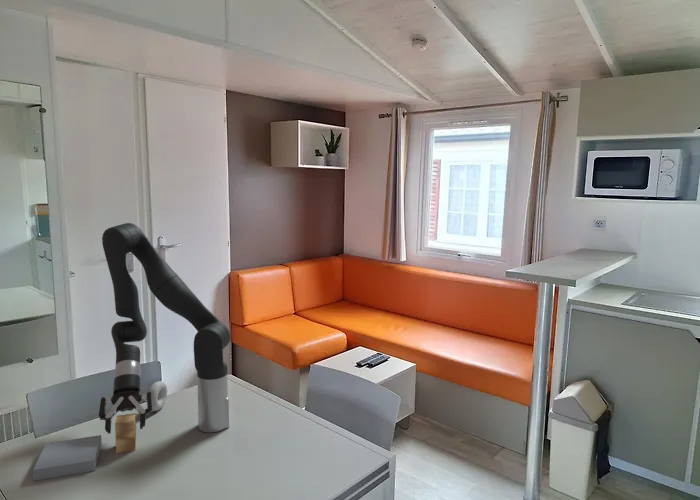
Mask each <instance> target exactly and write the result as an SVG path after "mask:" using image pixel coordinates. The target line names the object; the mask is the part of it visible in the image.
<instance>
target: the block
mask: <svg viewBox="0 0 700 500" xmlns="http://www.w3.org/2000/svg"><path fill="white" fill-rule="evenodd" d="M136 416H137V415H136V413H126V414H120V415H119V414H118V415H116V418H115V423H114V428H115V429H114V432H115V434H114V435H115V451H116V452H115V453H116V454H121V453H126V452H133V451H136V449H137V422H136V421H137V419H136V418H137V417H136Z"/></svg>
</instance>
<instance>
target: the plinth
mask: <svg viewBox="0 0 700 500" xmlns="http://www.w3.org/2000/svg"><path fill="white" fill-rule="evenodd" d="M102 440H103V439H102V434H100V435H99V434H98V435H94V436H87V437H79V438H71V439H67V440H66V439H64V440H59V441H53V442H46V443H45V445H44V447H43V449H42V450H41V452H40V454H39V457H38V459H37V461H36V463H35V466H34V467H33V469H32V475H33V482H35V481H42V480H46V479H53V478H59V477H65V476H70V475H78V474H83V473H88V472H93V471H94V472H95V471H96V468H97V464H98V460H99V457H100V453H101V449H102V448H101V447H102V445H103V444H102Z"/></svg>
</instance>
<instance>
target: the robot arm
mask: <svg viewBox="0 0 700 500" xmlns="http://www.w3.org/2000/svg"><path fill="white" fill-rule="evenodd" d="M101 242H102V247H103V253H104V255H105V260H106V263H107V268H108V271H109V274H110V277H111V281H112V287H113V295H114V304H115V305H114V307H115V314H116V315H117V316H119V317H121V318H126V319H131V320H126V321H125V320H124V321H117V322H115V323H114V324H113V325H112V327H111V329H110V332H111V338H112V341H113V344H114V348H115V368H114V375H113V388H112V389H113V391H112V392H113V393H112V397H111V398H110V397H109V398H106V397H104V396H103V397H101V398H100V402H99V403H100V405H99V411H98V418H99V420H100V421H105V422H104V423H105V424H104V429H105V432H106V433H107V434H111V433H112V419H113V418H114V416H117V414H118V412H121V413H124V412H126V411H129V412H131V411H133V410H135V411H136V412H137V413H138V414H139V429H140V430H144V427H146V419H147V418H146V416H147V415H149V414H150V415H151V414H152V413H153V411H152V400H151V392H148V391H147V392H146V393H143V394H142V393H141V379H142V378H141V377H142V374H141V373H142V369H141V349H140V347H139V346H138V345H134V344H128V343H133V342H134V343H135V342H136V343H137V342H141V341H143V340H144V339H146V337H147V333H148V329H147V325H146V324H145V321H144V318H143V316H142V313H141V310H140V300H139V291H138V287H137V285H136V282H135V281H134V278H132V276H131V275H130V273H129V270H128V268H127V254H130V253H131V254H132V255H133V256H134V257H135V258H136V259H137V260H138V261H139V263H140V264H141V266H142V268H143V269H144V273H145V278H146V282H147V285H148V289H149V290H150V292H151V293H152V295H154V296H155V298H156V299H157V300H158V301H159V302H160V303H161V304H162V305H163V306H164V307H166V309H168V310H169V311H171V312H172V313H175V314H176V315H178V316H180V317H182V318H183V319H185V320H186V321H188V322H189V323H190V324H191V325H192V326H193V327H194V328H195V330H196V331H197V332H196V334H195V335H194V338H193V359H194V367H195V370H196V374H197V376H196V377H197V378H196V379H197V380H196V381H197V413H198V414H197V417H198V418H197V422H198V423H197V424H198V429H199V431H201V432H204V433H217V432H220V431H223V430H225V429H228V428H230V399H229V395H228V394H229V388H228V387H229V385H228V384H229V383H228V380H229V379H228V365H227V363H226V362H224V349H225V348H226V347H227V346H228V344H229V343H230V341H231V333H230V330H229V328H228V327H227V325H225V324H224V322H222V320H220V319H219V318H218V317H217V316H216V315H214V314H213V313H212V311H210V310H209V309H208V308H207V307H206V306H205V305H204V304H203V302H202V301H201V300H200V299H199V298H198V297H197V296H196V294H194V292H193V291H192V290H191V289H190V288H189V287H188V285H187V284H186V283H185V282H184V281H183V280H182V278H181V277H180V276H179V275H178V274H177V272H175V271H174V269H172V268H171V266H170V265H169V263H168V262H167V261H166V260H165V259H164V258H163V257H162V256H161V255H160V253H159V252H158V251H157V250H156V248H155V246H154V245H153V244H152V243H151V241H150V240H149V238H148V237H147V235H146V234H145V233H144V231H143V230H142V229H141V228H140V227H139V226H138V225H136V224H134V223H132V222H126V223H125V222H124V223H123V224H121V223H120V224H119V225H114V226H111V227H108V228H107V229H105V230H104V232H103V234H102V237H101ZM142 399H143V400H144V401H145V402H146V406H147V407H146V408H145V409H144V408H143V406H142V405H141V404H140V402H141V401H142ZM110 403H111V404H112V407H111V408H110V409H109V411H108V413H106V409H107V408H106V407H108V406H109V404H110Z"/></svg>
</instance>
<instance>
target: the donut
mask: <svg viewBox="0 0 700 500" xmlns="http://www.w3.org/2000/svg"><path fill="white" fill-rule="evenodd" d="M148 392H151V400H152V412H158V411H159V410H161V409H162V408H163V407H164V405H165V403H166V400H167V398H168V387H167V384H166V383H165V381H162V380H157V381H154V383H153V384H151V385H150V387H149V389H148V391H147V393H148Z"/></svg>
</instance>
